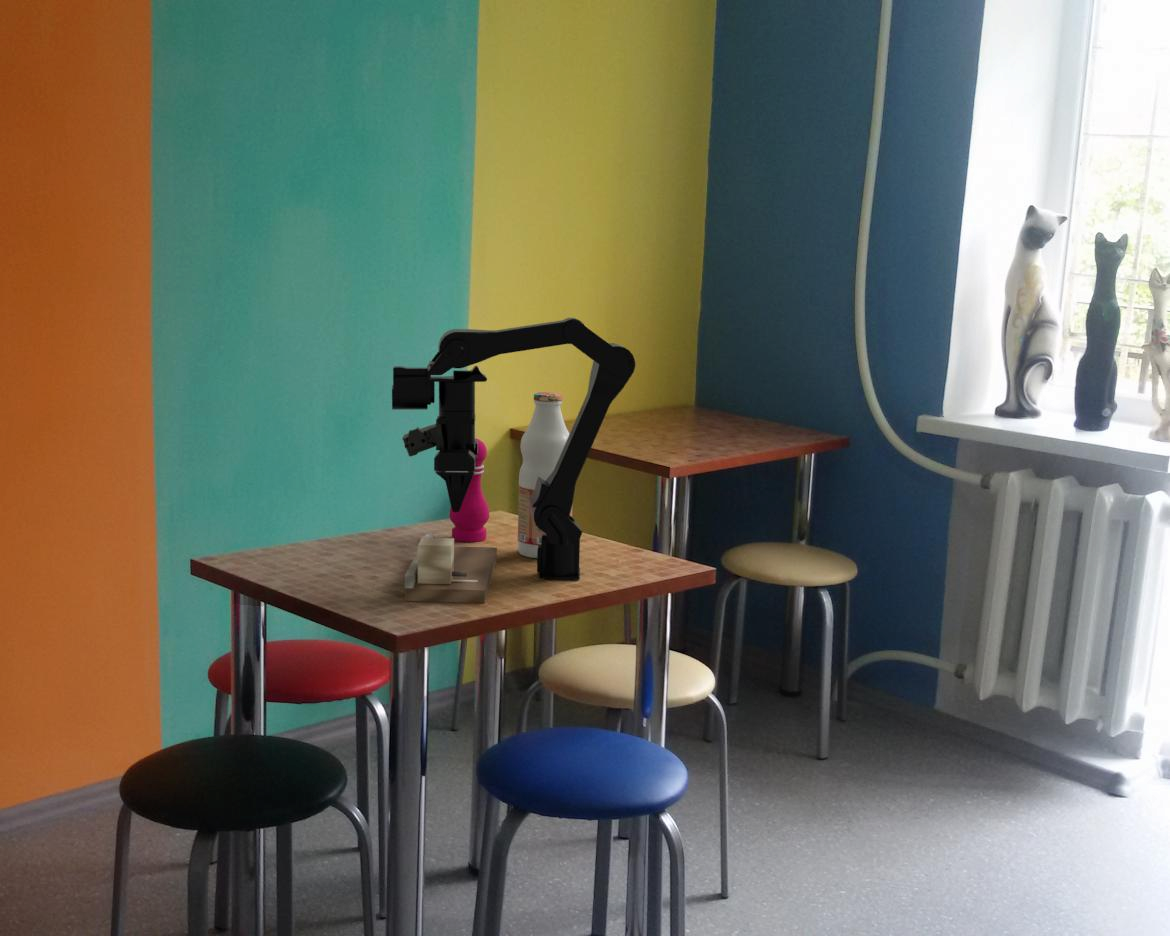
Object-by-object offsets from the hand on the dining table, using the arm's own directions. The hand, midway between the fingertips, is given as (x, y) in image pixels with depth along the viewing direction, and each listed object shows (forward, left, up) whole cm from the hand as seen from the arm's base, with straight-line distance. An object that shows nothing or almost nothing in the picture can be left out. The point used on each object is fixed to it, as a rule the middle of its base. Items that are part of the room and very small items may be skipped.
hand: (457, 506), depth 221 cm
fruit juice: (-14, -17, -12) cm, 25 cm away
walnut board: (0, +2, -12) cm, 12 cm away
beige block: (+1, +11, -9) cm, 14 cm away
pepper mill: (0, -27, -12) cm, 30 cm away
